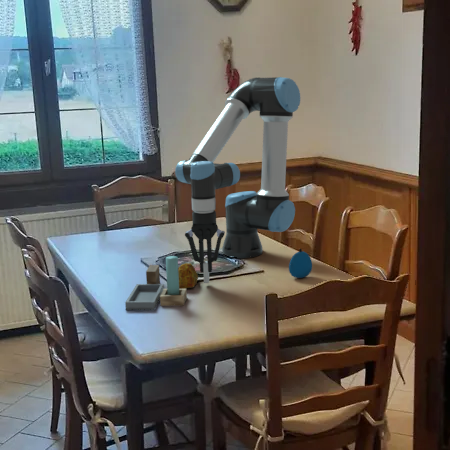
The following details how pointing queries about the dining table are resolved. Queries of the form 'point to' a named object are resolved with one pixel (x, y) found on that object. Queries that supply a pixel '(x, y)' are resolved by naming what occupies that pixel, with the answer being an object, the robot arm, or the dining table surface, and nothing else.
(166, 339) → the dining table surface
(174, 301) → the socket block
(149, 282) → the block
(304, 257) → the ornament
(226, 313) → the dining table surface
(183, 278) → the rock
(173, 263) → the dowel
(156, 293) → the tray
